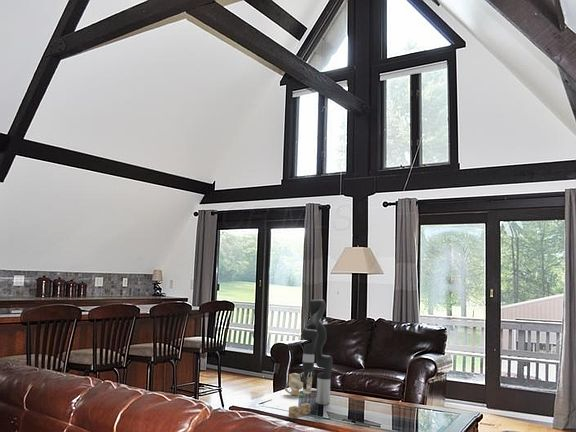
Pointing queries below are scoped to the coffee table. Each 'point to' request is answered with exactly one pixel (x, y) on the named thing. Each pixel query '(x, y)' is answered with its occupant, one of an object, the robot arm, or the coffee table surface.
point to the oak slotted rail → (299, 410)
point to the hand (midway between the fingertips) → (306, 388)
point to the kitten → (294, 390)
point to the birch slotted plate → (300, 383)
